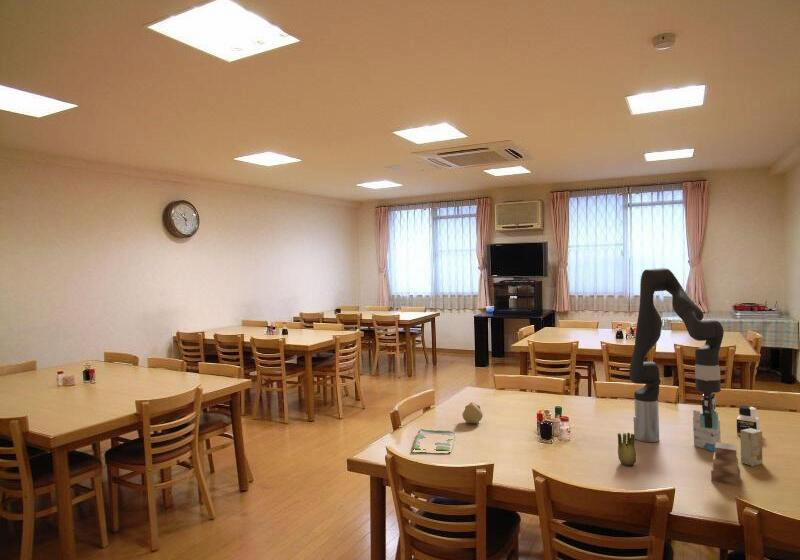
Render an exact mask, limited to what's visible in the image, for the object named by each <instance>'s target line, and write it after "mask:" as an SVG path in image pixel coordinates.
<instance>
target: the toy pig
mask: <svg viewBox="0 0 800 560" xmlns="http://www.w3.org/2000/svg"><path fill="white" fill-rule="evenodd" d="M483 414H484V413H483V411H482V410H481V406H480V405H479V404H476V403H475V402H470V403H468V404H467V405H466V406H465V409H464V410H463V412H462V418H463V420H464V421H465V424H472V423H474V424H480V423H479V421H480V422H481V420H482V418H483V416H484V415H483Z"/></svg>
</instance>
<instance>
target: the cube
mask: <svg viewBox="0 0 800 560" xmlns="http://www.w3.org/2000/svg"><path fill="white" fill-rule="evenodd" d="M699 412H700V415H699V416H700V428H706V427H705V421H704V416H703V409H701V410H700V411H699ZM706 413H709V411H706ZM712 415H713V417H712V428H707V429H715V430H717V429H718V426H719V423H718V420H719V411H715V410H714V411H712Z"/></svg>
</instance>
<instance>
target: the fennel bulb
mask: <svg viewBox="0 0 800 560" xmlns="http://www.w3.org/2000/svg"><path fill="white" fill-rule="evenodd" d="M634 438H635V435H634V433H630V432H627V433H624V432H623V433H622V434H621V432H618V433H617V457H618V460H619V462H620V463H621V464H622V465H624V466H628V467H632V466H633V465H635V464H636V462H637V452H636V451H637V450H636V446H635V439H634Z"/></svg>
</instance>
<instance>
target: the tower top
mask: <svg viewBox="0 0 800 560" xmlns="http://www.w3.org/2000/svg"><path fill="white" fill-rule="evenodd" d="M714 452H715V459H719V460H725V461H732V462H736V457H737V456H738V454H737V444H733V443H726V442H721V443H719V442H716V444H715V451H714Z"/></svg>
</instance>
